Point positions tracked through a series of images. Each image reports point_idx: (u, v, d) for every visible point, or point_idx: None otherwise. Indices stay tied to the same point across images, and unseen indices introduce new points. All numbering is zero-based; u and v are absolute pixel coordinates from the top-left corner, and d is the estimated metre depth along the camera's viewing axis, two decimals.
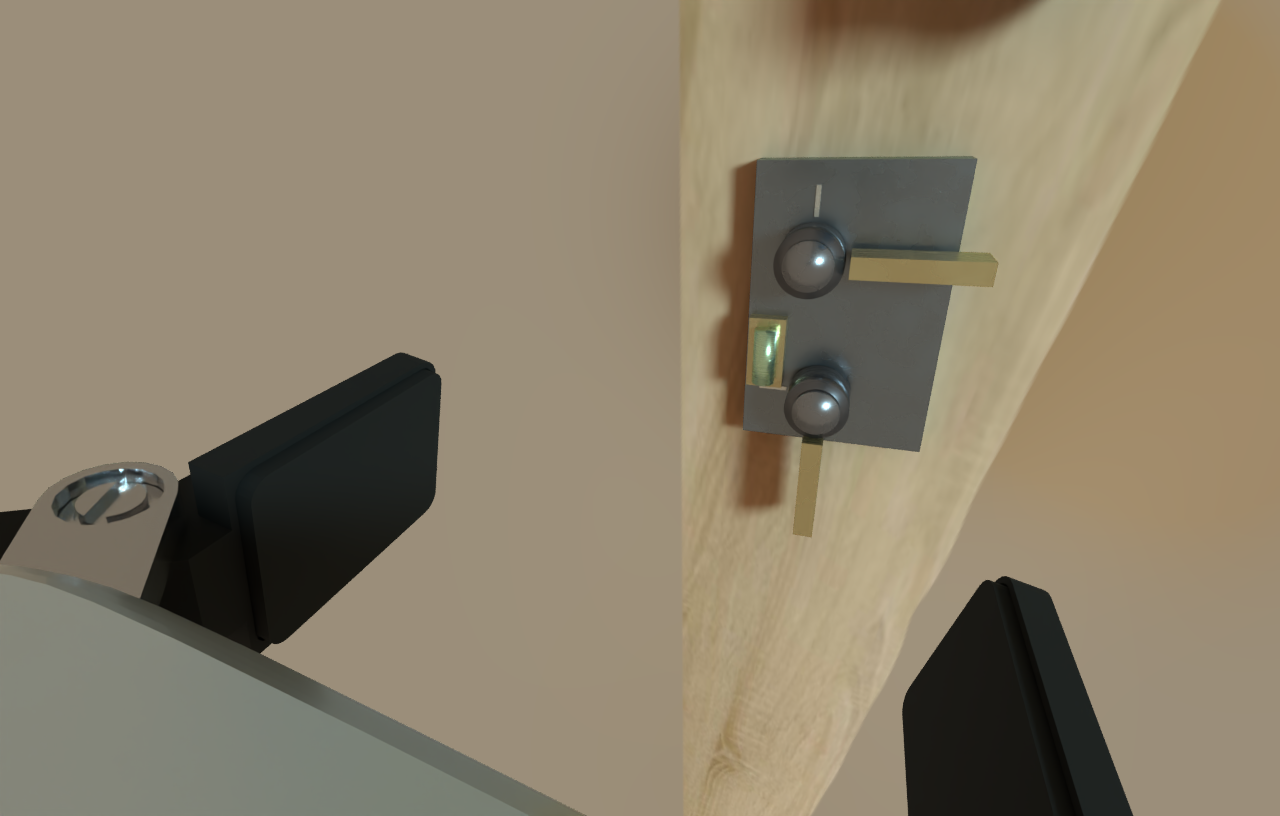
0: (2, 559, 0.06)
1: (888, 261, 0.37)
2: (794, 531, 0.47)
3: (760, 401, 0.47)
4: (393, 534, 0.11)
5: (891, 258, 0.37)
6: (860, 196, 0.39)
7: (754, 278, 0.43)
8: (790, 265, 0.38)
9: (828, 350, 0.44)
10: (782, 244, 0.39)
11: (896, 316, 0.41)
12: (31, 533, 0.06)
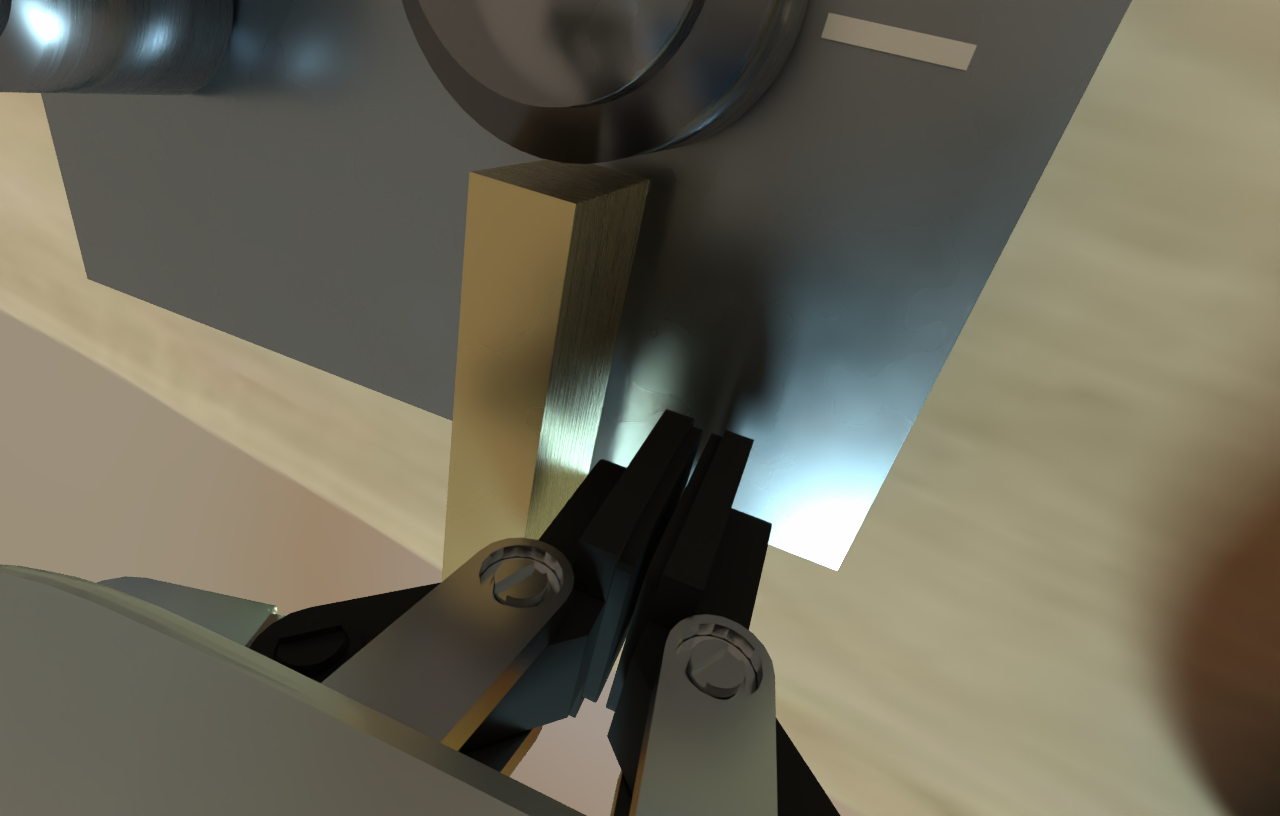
0: (425, 597, 0.06)
1: (539, 364, 0.08)
2: None
3: None
4: None
5: (552, 373, 0.08)
6: (846, 233, 0.10)
7: None
8: None
9: (295, 23, 0.11)
10: None
11: (423, 282, 0.13)
12: (456, 582, 0.07)
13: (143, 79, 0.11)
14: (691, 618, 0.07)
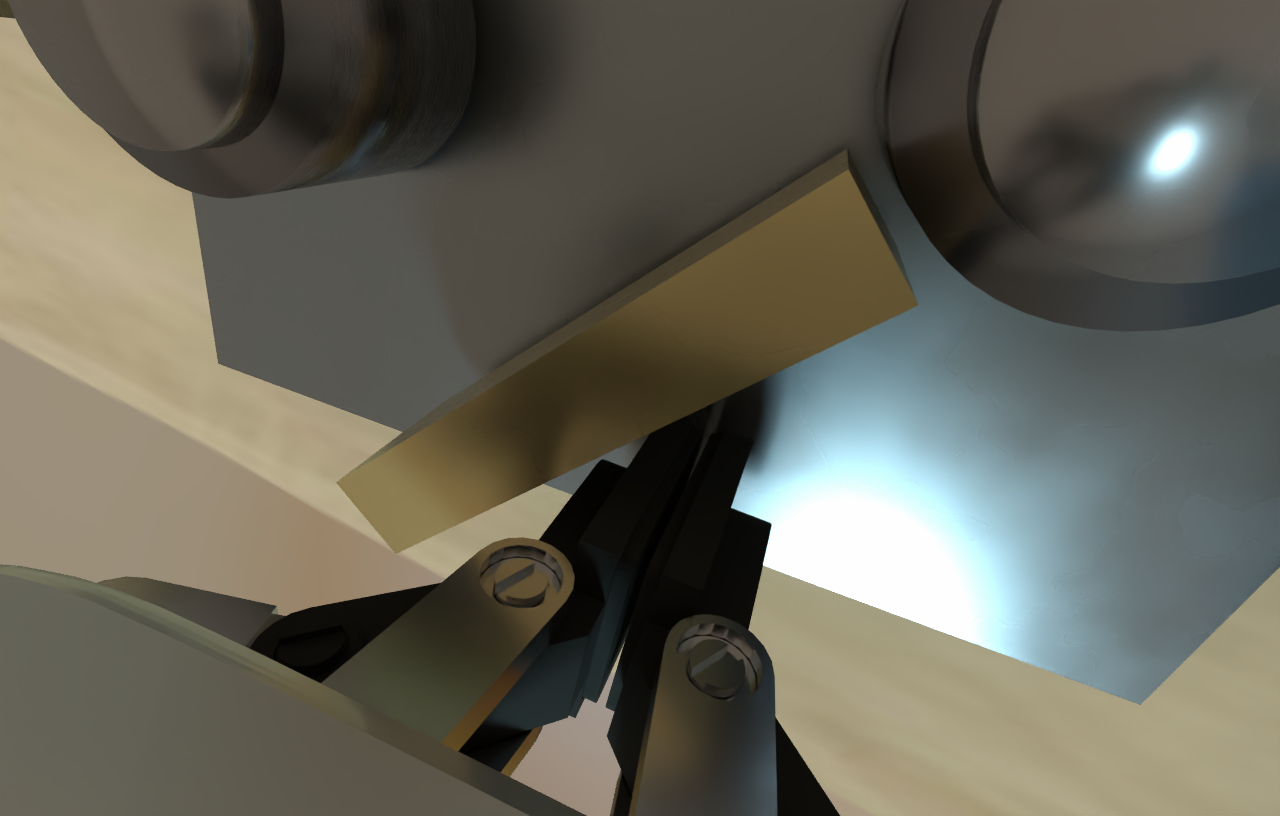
0: (425, 597, 0.06)
1: (713, 386, 0.07)
2: None
3: None
4: None
5: (710, 398, 0.07)
6: (1252, 357, 0.08)
7: None
8: None
9: (546, 97, 0.09)
10: None
11: None
12: (456, 582, 0.07)
13: (373, 168, 0.09)
14: (691, 618, 0.07)
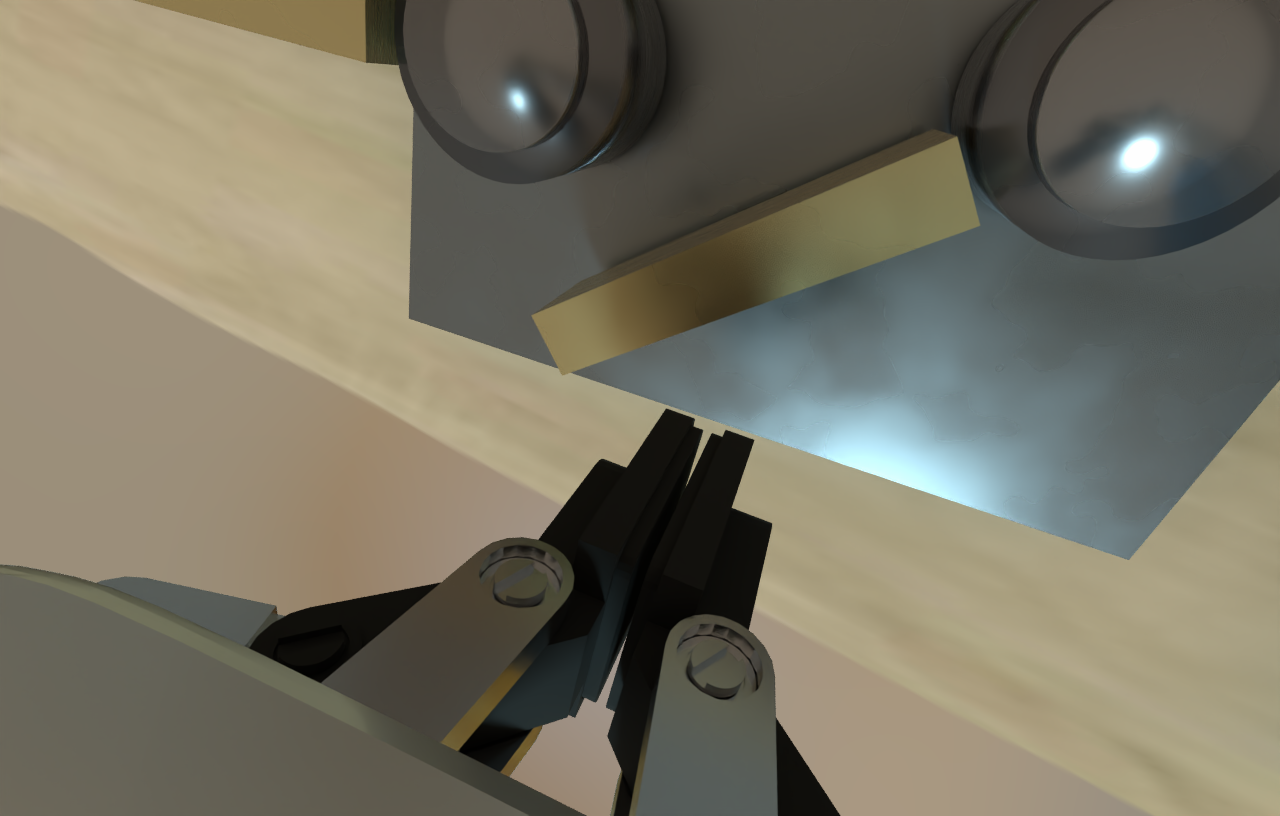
0: (424, 597, 0.06)
1: (838, 266, 0.10)
2: None
3: None
4: None
5: None
6: (1203, 292, 0.12)
7: None
8: None
9: (710, 114, 0.13)
10: None
11: (777, 325, 0.15)
12: (455, 582, 0.07)
13: (593, 164, 0.13)
14: (691, 618, 0.07)
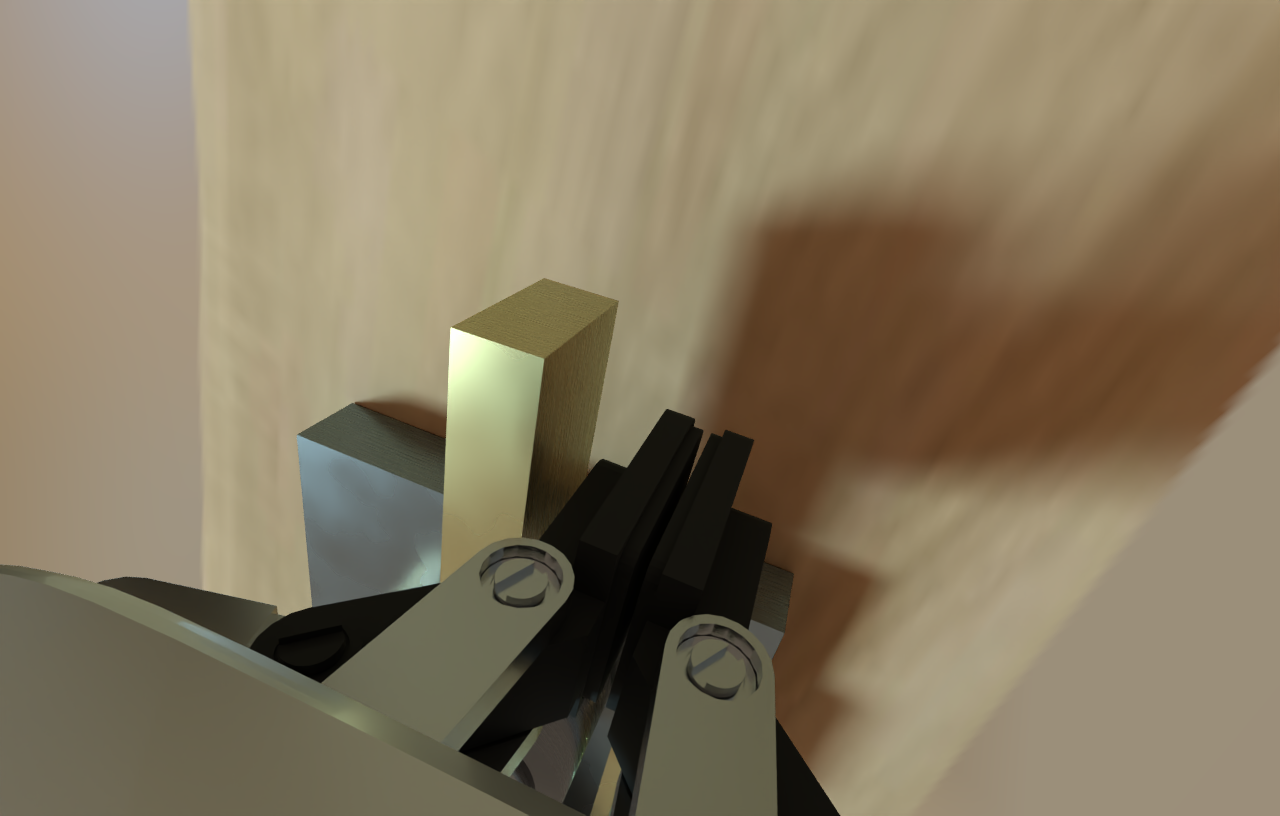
0: (425, 597, 0.06)
1: None
2: (534, 374, 0.08)
3: None
4: None
5: None
6: None
7: None
8: None
9: None
10: None
11: None
12: (456, 582, 0.07)
13: None
14: (691, 618, 0.07)
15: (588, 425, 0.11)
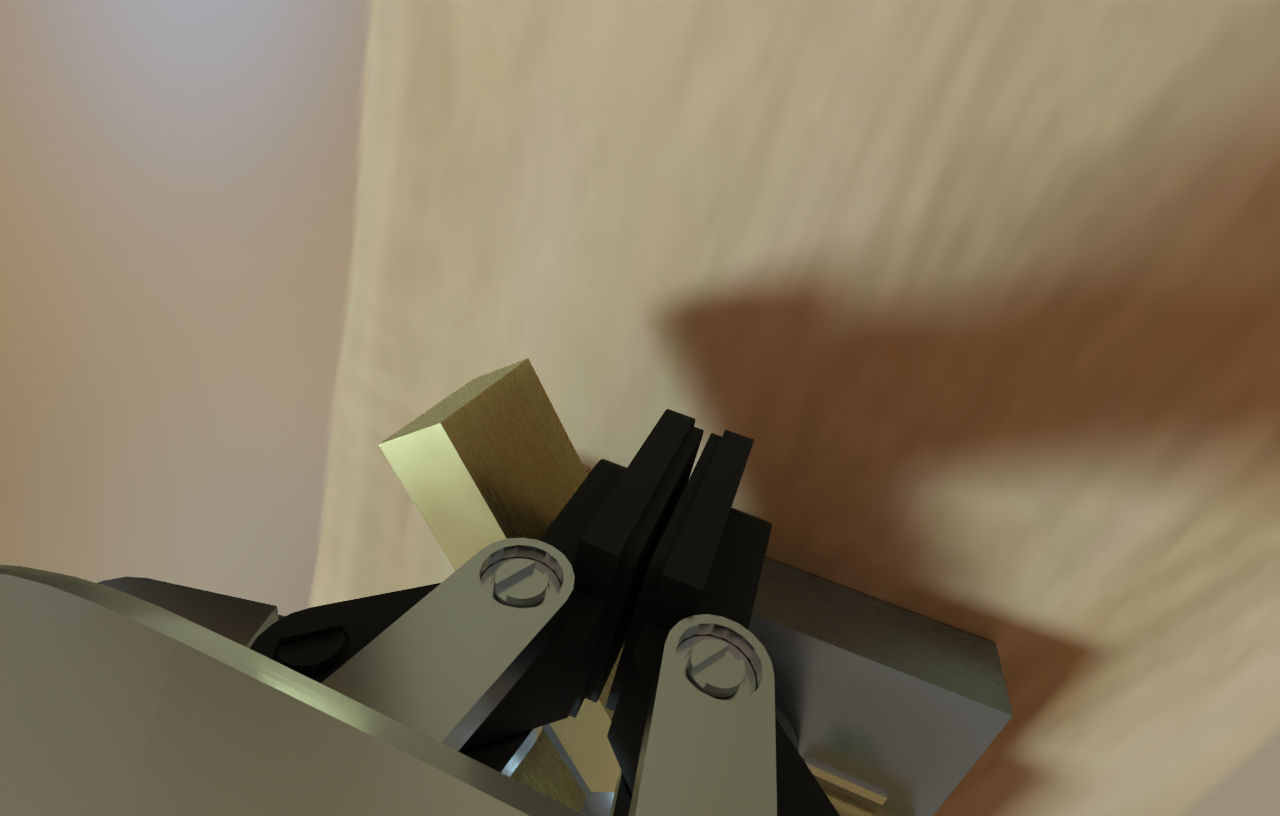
0: (425, 598, 0.06)
1: None
2: (444, 440, 0.09)
3: (901, 764, 0.14)
4: None
5: None
6: None
7: None
8: None
9: None
10: None
11: None
12: (456, 582, 0.07)
13: None
14: (690, 618, 0.07)
15: (570, 471, 0.12)
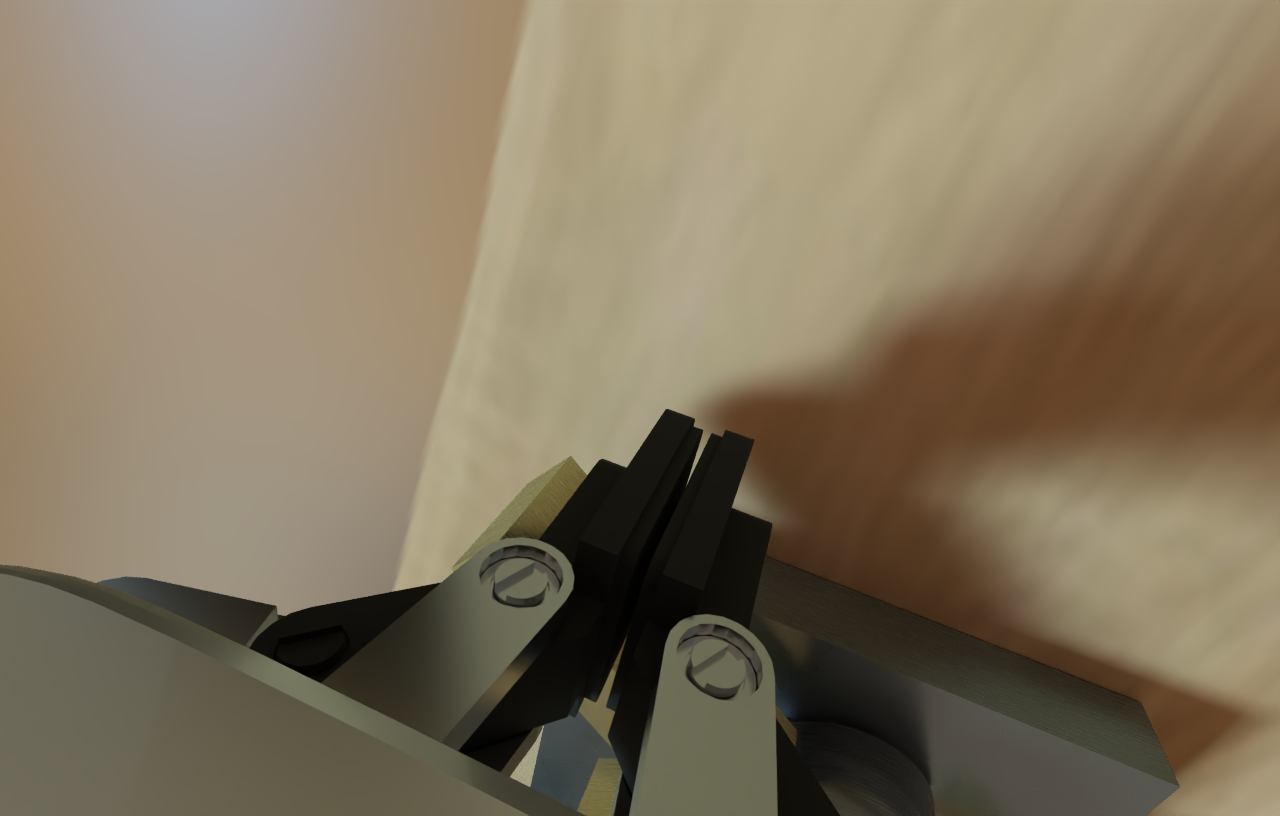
0: (425, 597, 0.06)
1: None
2: None
3: None
4: None
5: None
6: None
7: None
8: None
9: None
10: None
11: None
12: (456, 582, 0.07)
13: None
14: (691, 618, 0.07)
15: None
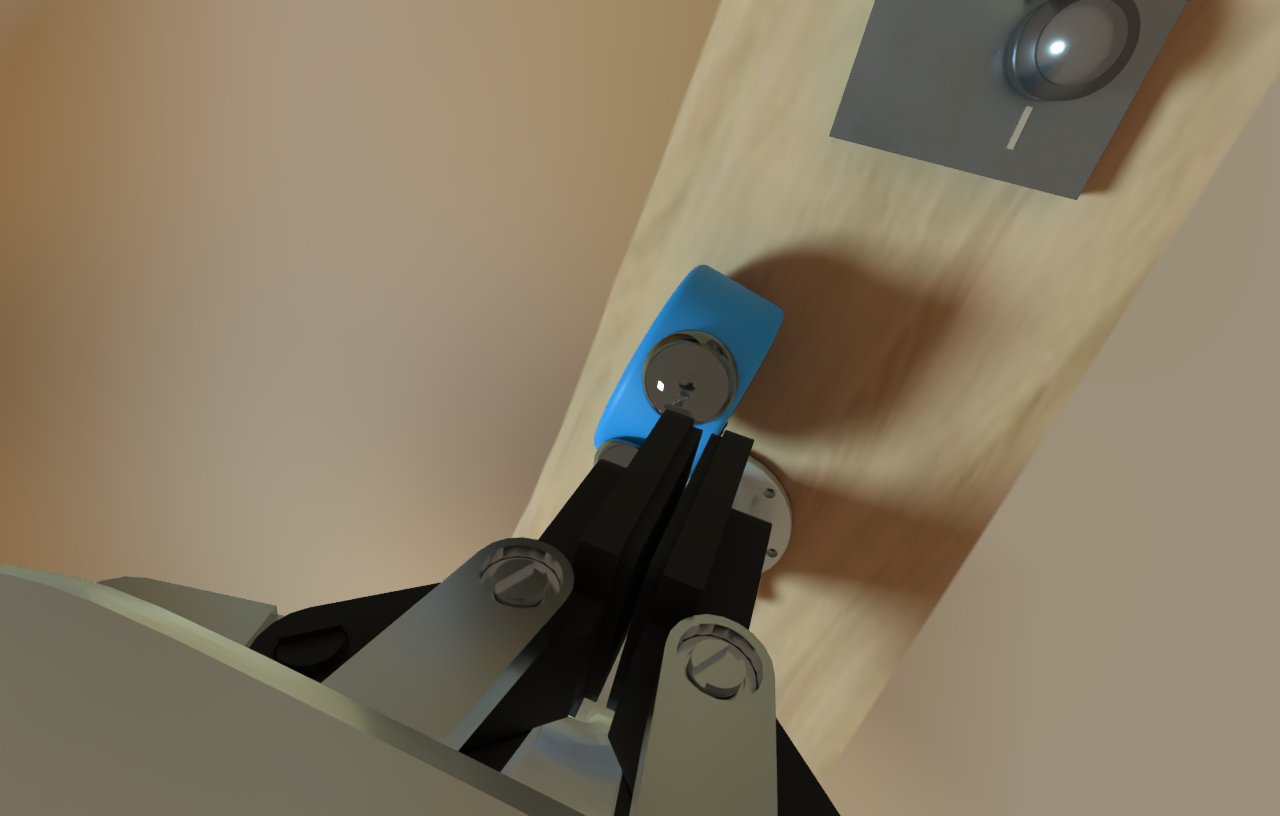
0: (424, 597, 0.06)
1: None
2: None
3: None
4: None
5: None
6: (964, 121, 0.32)
7: (1167, 23, 0.28)
8: (1084, 69, 0.26)
9: None
10: (1052, 97, 0.27)
11: None
12: (455, 582, 0.07)
13: None
14: (691, 618, 0.07)
15: None
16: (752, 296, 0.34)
